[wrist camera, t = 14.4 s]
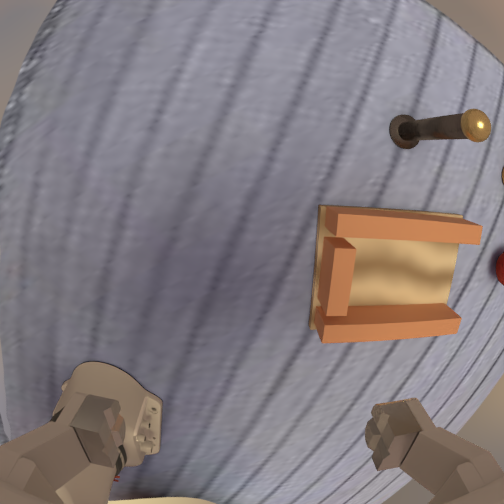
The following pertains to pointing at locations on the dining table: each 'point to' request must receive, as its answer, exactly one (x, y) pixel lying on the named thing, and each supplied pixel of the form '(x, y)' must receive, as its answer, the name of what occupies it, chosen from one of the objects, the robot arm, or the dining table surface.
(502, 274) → the onion
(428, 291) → the tray
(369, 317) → the c link
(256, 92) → the dining table surface
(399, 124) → the post stand
